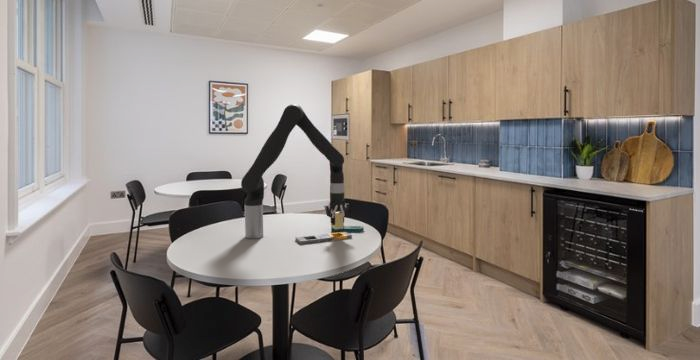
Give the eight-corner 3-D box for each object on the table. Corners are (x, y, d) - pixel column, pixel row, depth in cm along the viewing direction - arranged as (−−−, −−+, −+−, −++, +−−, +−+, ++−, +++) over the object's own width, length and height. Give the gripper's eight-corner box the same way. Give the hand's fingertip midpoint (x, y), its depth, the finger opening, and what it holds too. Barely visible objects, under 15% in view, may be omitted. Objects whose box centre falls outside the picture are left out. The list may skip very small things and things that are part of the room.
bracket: (331, 232, 217) (331, 218, 216) (331, 229, 223) (331, 216, 223) (363, 232, 217) (364, 218, 216) (363, 229, 224) (363, 216, 223)
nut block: (331, 227, 206) (331, 212, 205) (339, 226, 207) (339, 211, 207) (335, 229, 202) (335, 214, 201) (343, 228, 203) (343, 213, 203)
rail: (295, 240, 200) (295, 237, 199) (345, 234, 212) (345, 231, 212) (300, 244, 192) (300, 241, 192) (351, 238, 205) (351, 235, 204)
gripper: (346, 189, 209) (346, 221, 211) (321, 191, 203) (322, 224, 205) (352, 191, 202) (352, 224, 204) (327, 193, 196) (327, 227, 198)
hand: (337, 223), depth 204 cm, fingers closed on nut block, 4 cm apart
